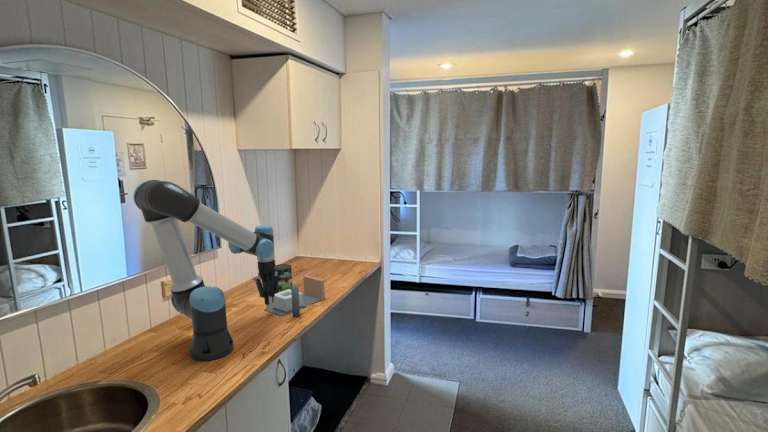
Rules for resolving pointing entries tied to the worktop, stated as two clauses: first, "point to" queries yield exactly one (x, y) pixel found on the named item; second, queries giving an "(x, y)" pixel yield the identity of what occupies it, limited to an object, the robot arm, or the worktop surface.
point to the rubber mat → (306, 301)
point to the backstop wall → (314, 287)
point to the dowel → (295, 300)
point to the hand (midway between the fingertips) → (269, 310)
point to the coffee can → (284, 277)
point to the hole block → (285, 300)
